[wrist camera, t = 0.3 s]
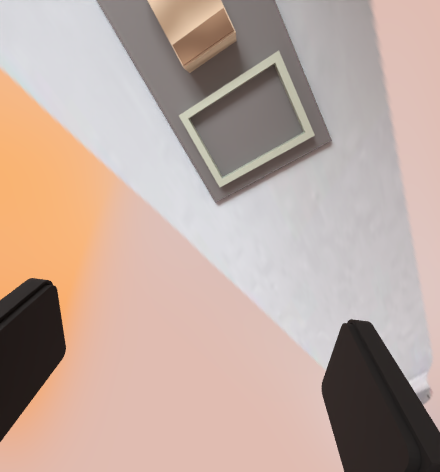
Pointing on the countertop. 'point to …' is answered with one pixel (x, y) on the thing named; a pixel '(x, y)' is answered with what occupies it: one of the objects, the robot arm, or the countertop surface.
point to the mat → (215, 77)
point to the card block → (195, 29)
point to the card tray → (228, 88)
